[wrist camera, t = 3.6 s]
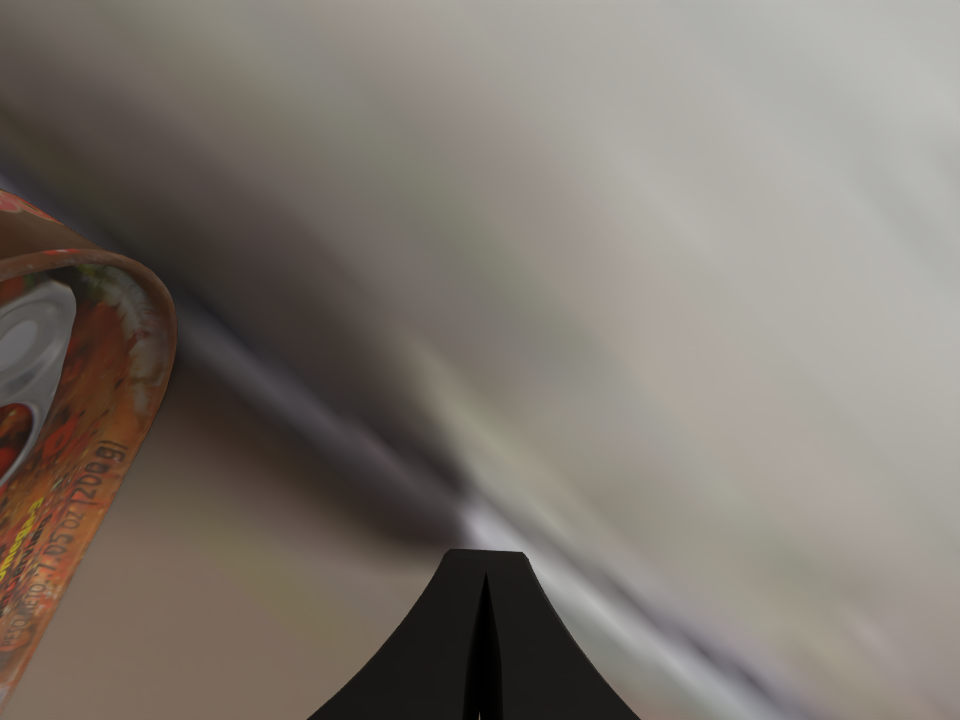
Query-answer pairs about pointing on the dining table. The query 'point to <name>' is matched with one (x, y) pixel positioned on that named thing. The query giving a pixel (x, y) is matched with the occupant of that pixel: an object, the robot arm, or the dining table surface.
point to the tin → (66, 406)
